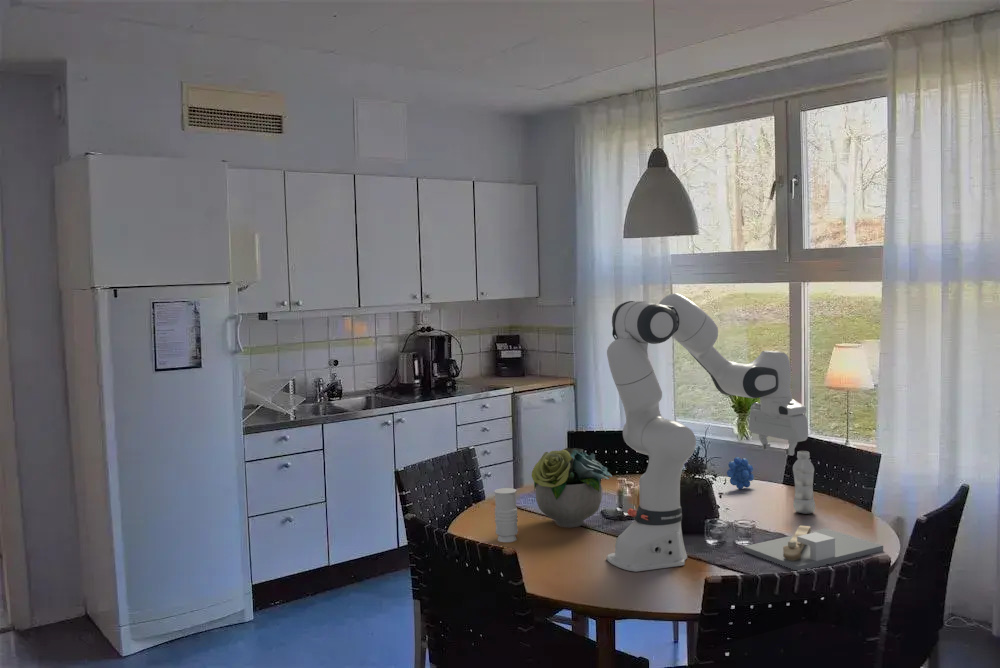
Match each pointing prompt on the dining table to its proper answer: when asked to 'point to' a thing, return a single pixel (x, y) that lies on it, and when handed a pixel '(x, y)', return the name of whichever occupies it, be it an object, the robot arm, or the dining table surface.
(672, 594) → the dining table surface
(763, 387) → the robot arm
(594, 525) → the dining table surface
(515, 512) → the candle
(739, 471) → the grapes
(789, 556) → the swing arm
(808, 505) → the plastic bottle
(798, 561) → the base
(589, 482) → the flower arrangement
